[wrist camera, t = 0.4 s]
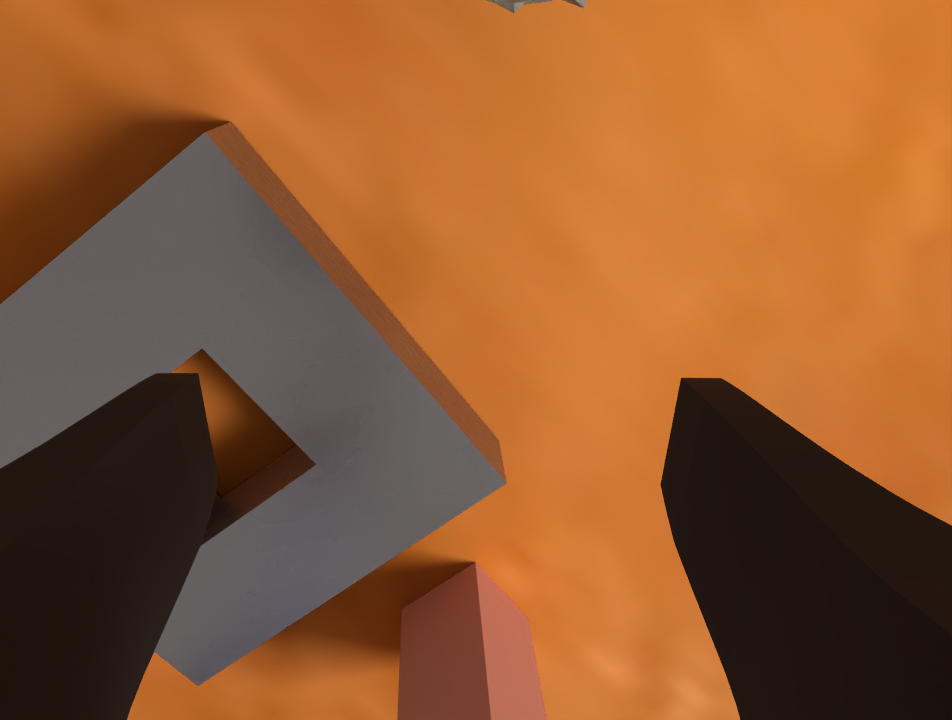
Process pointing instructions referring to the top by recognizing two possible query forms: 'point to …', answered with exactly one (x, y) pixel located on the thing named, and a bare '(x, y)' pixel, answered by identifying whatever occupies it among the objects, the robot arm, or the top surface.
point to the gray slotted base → (250, 389)
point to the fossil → (512, 3)
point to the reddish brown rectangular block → (467, 655)
